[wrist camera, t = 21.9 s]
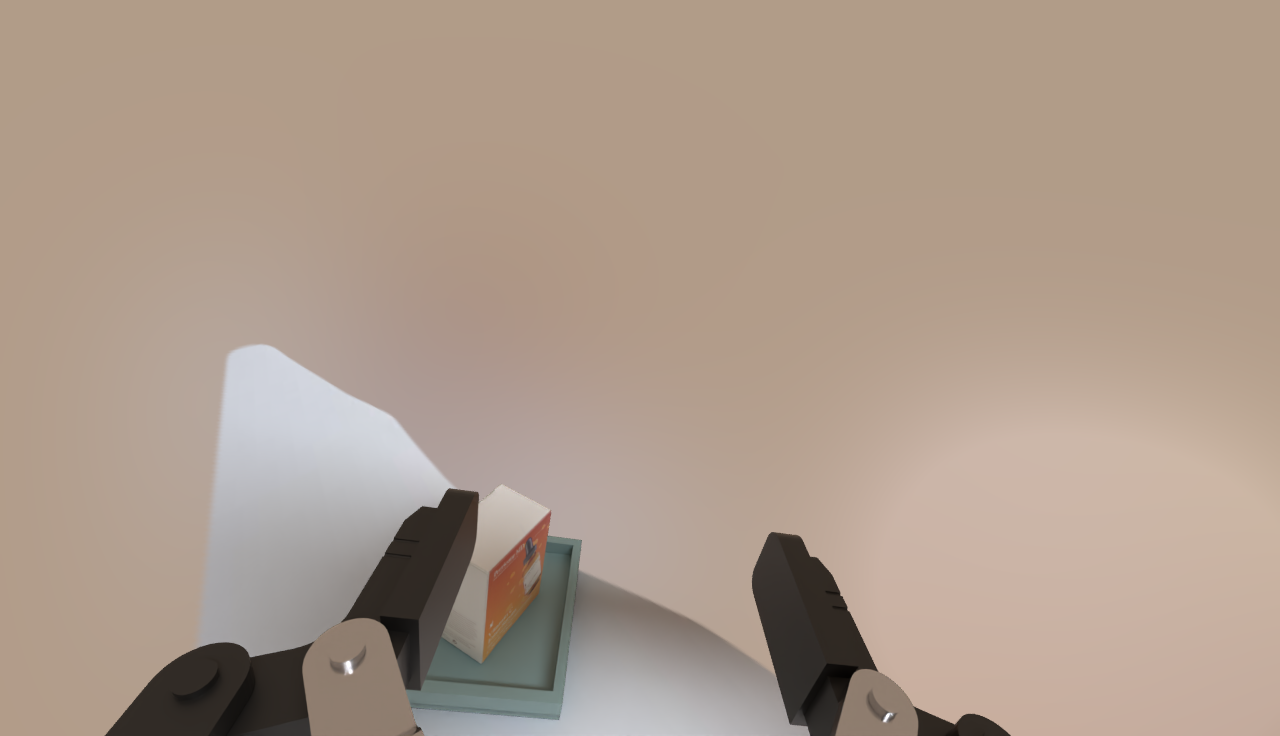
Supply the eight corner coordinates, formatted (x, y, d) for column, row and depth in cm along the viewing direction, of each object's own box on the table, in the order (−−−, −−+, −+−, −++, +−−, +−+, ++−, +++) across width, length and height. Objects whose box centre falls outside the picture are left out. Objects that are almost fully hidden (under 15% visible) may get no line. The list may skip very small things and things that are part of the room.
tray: (579, 554, 48) (581, 540, 48) (558, 719, 34) (562, 704, 33) (438, 537, 47) (438, 522, 46) (357, 703, 33) (355, 686, 32)
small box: (480, 667, 36) (487, 575, 32) (428, 630, 38) (427, 539, 33) (541, 592, 43) (553, 508, 38) (494, 564, 45) (501, 481, 40)
